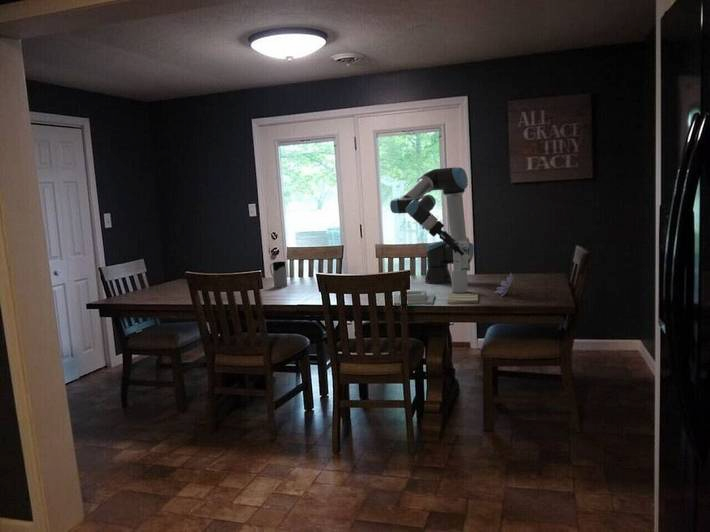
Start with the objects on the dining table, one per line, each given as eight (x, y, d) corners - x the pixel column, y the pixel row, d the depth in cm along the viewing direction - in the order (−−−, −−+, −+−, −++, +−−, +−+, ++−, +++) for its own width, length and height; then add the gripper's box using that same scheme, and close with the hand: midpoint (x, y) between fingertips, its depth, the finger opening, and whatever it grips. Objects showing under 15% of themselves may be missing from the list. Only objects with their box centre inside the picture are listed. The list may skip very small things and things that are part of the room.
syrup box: (460, 272, 280) (459, 241, 278) (453, 270, 285) (452, 240, 283) (470, 270, 282) (469, 240, 280) (463, 269, 287) (462, 239, 285)
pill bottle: (467, 293, 301) (466, 264, 299) (451, 293, 303) (450, 264, 301) (467, 290, 309) (466, 261, 307) (452, 290, 311) (451, 262, 309)
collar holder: (395, 297, 302) (395, 289, 301) (435, 296, 298) (434, 288, 297) (390, 305, 282) (389, 297, 282) (432, 304, 278) (432, 296, 278)
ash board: (449, 296, 295) (449, 294, 295) (477, 295, 293) (477, 293, 292) (447, 303, 278) (447, 301, 278) (478, 303, 275) (477, 300, 275)
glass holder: (278, 288, 353) (276, 263, 351) (265, 286, 364) (263, 262, 362) (291, 286, 359) (289, 261, 357) (277, 284, 369) (275, 260, 367)
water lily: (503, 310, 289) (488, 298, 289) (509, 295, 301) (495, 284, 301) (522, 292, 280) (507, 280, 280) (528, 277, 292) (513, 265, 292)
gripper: (429, 229, 294) (463, 260, 293) (426, 233, 274) (462, 266, 273) (439, 218, 292) (474, 249, 291) (437, 221, 272) (474, 255, 271)
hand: (468, 258), depth 282 cm, fingers closed on syrup box, 7 cm apart
